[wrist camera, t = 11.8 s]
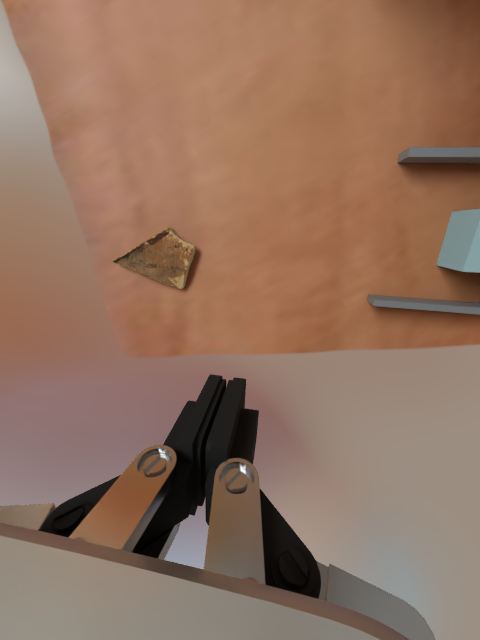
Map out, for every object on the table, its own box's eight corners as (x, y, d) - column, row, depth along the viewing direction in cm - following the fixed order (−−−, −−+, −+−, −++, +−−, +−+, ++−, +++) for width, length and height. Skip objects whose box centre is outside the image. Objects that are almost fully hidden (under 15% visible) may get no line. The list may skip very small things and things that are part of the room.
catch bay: (399, 154, 28) (410, 147, 25) (544, 154, 26) (571, 147, 23) (367, 300, 33) (373, 305, 31) (483, 309, 31) (499, 316, 29)
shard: (118, 260, 38) (111, 262, 36) (129, 208, 35) (121, 207, 33) (185, 289, 38) (180, 292, 36) (200, 239, 35) (196, 240, 33)
